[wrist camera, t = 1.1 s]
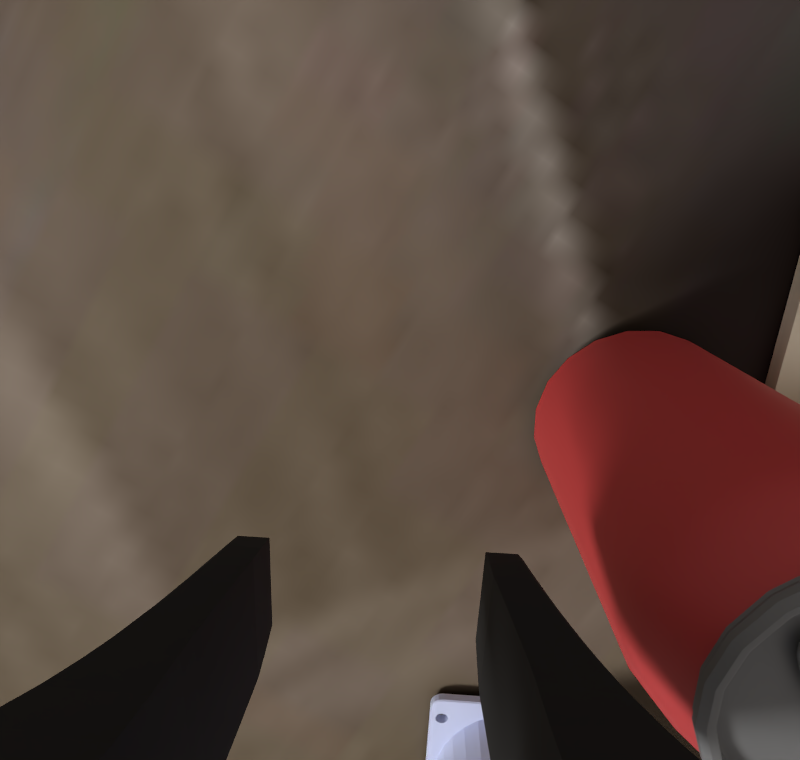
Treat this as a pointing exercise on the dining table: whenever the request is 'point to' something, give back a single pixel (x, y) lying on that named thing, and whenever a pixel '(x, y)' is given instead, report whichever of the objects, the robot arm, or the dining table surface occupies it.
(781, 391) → the birch tray
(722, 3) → the dining table surface
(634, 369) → the beer can
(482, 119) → the dining table surface
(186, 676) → the robot arm
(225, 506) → the dining table surface
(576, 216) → the dining table surface
